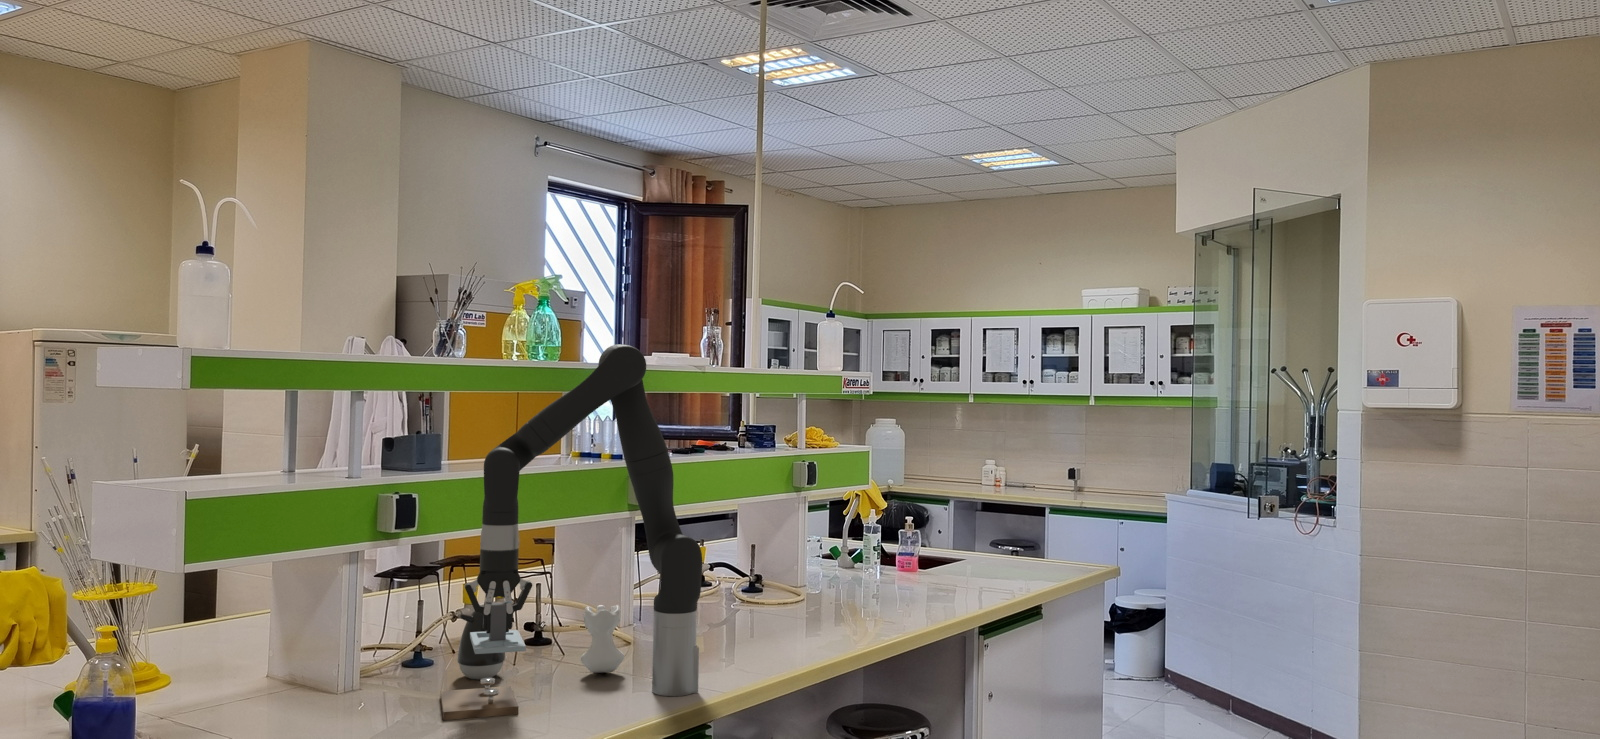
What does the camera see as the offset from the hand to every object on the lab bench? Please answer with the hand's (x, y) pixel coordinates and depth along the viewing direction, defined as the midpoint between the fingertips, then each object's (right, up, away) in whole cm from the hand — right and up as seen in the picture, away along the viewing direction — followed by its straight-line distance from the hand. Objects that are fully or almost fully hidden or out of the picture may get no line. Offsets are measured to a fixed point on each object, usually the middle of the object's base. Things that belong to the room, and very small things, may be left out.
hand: (497, 631), depth 224 cm
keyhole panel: (0, -2, 0) cm, 2 cm away
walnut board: (-3, -15, -1) cm, 15 cm away
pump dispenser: (-10, -15, +22) cm, 28 cm away
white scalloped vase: (+16, -16, +27) cm, 35 cm away
